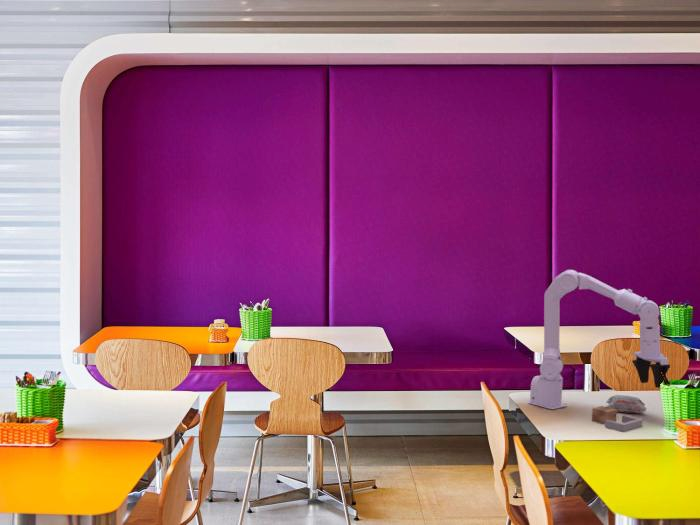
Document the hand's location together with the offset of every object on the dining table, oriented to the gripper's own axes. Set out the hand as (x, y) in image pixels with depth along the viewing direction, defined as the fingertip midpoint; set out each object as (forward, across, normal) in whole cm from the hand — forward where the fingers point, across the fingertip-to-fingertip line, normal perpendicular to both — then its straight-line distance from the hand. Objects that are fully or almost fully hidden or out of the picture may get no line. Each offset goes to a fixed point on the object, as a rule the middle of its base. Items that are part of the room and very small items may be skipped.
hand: (651, 384), depth 234 cm
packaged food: (+10, +9, +4) cm, 14 cm away
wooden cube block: (+9, -2, +18) cm, 20 cm away
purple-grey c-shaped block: (+10, -7, +15) cm, 19 cm away
